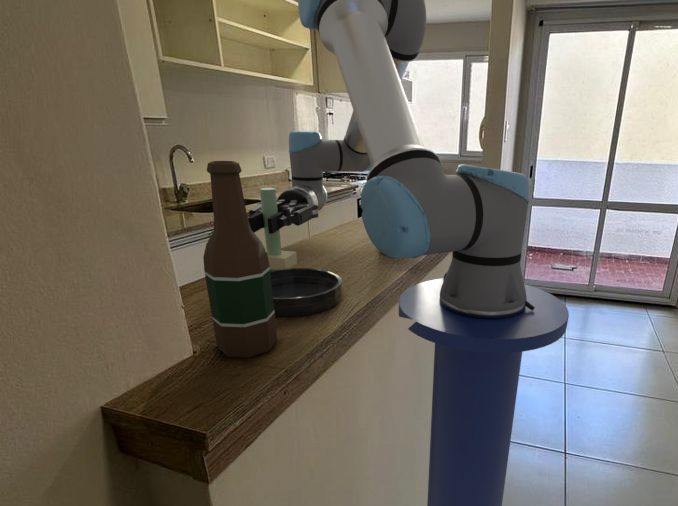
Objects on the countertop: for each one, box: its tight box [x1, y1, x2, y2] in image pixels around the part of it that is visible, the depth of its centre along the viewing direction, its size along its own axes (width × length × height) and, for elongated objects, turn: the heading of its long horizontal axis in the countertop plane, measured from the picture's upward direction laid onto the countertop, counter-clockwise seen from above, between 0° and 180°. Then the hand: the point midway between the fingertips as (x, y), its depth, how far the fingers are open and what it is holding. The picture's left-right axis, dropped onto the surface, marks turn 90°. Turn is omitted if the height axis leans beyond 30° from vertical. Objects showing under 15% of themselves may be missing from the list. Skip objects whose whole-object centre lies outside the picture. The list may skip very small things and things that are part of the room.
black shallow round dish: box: [270, 267, 343, 318], centre depth 77 cm, size 16×16×3 cm
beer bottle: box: [203, 160, 278, 358], centre depth 57 cm, size 8×8×24 cm
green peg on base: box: [259, 187, 298, 270], centre depth 87 cm, size 7×5×15 cm
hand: (260, 225), depth 81 cm, fingers closed on green peg on base, 3 cm apart
